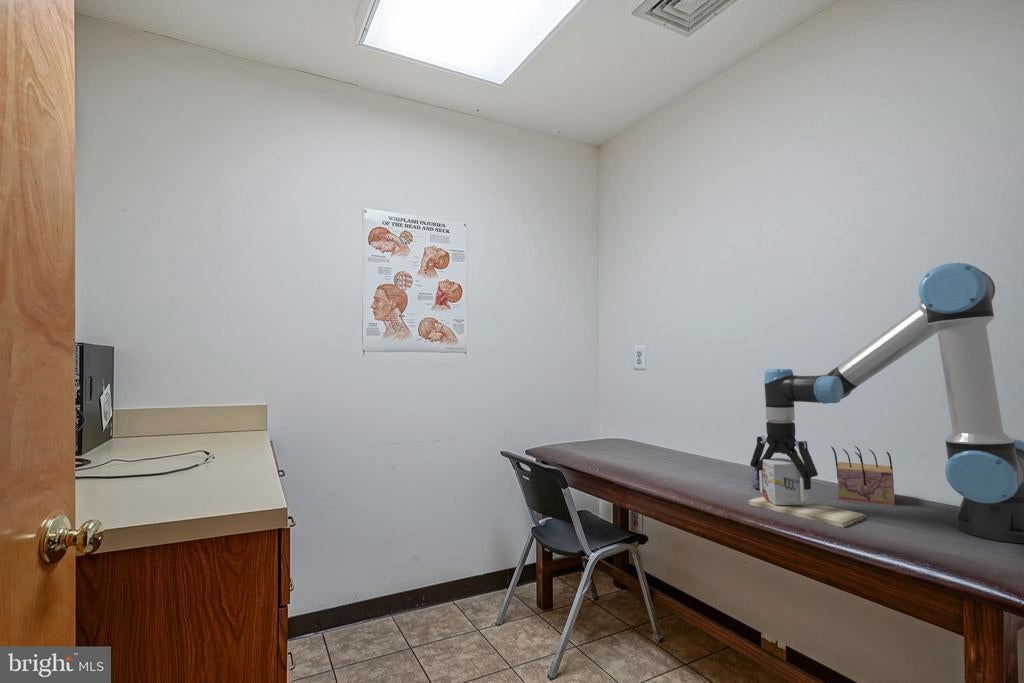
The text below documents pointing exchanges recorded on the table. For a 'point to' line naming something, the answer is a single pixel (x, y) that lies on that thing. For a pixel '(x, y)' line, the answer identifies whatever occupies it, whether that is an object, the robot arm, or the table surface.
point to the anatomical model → (865, 481)
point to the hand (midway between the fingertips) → (783, 496)
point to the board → (812, 512)
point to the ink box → (781, 482)
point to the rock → (755, 478)
